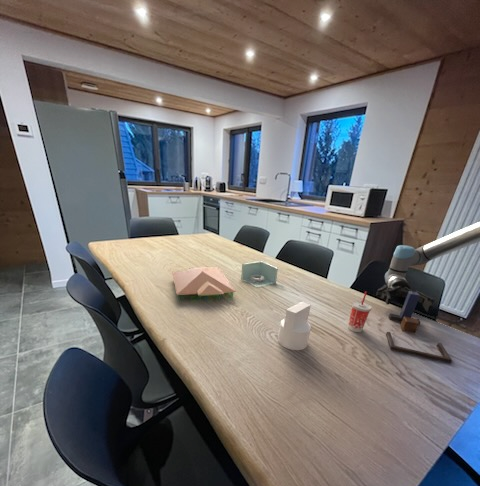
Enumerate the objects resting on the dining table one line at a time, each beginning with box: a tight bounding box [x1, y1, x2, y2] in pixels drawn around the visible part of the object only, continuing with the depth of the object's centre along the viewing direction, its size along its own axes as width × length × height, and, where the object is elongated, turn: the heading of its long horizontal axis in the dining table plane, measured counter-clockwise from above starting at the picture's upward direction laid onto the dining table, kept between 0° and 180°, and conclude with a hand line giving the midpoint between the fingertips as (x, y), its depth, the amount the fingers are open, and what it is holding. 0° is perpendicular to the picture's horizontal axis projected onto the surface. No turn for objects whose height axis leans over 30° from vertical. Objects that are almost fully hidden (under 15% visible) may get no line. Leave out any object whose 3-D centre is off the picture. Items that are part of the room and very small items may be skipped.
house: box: [171, 266, 236, 303], centre depth 113 cm, size 23×33×8 cm
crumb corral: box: [385, 331, 453, 364], centre depth 83 cm, size 16×10×1 cm, turn 70°
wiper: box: [388, 291, 421, 325], centre depth 97 cm, size 10×3×12 cm, turn 70°
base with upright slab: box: [277, 300, 312, 351], centre depth 79 cm, size 9×9×12 cm
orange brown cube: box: [399, 316, 420, 334], centre depth 93 cm, size 4×4×4 cm
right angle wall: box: [240, 260, 279, 288], centre depth 126 cm, size 12×12×8 cm
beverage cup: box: [347, 290, 373, 333], centre depth 89 cm, size 6×6×14 cm
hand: (408, 305), depth 98 cm, fingers open, 13 cm apart
